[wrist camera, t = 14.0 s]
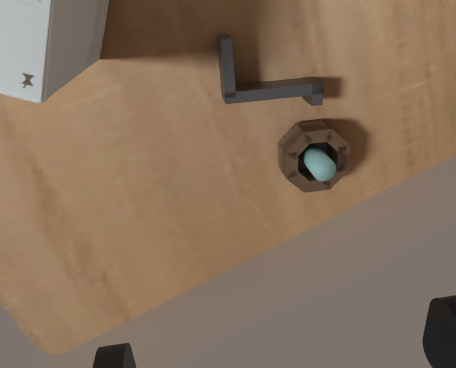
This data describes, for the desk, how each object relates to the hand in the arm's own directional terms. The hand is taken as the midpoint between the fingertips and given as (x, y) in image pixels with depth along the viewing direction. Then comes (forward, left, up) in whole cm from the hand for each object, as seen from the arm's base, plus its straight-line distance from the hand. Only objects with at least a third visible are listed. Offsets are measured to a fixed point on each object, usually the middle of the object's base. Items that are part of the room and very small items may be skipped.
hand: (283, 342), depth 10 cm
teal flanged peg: (+7, +10, -30) cm, 32 cm away
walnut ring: (+7, +10, -30) cm, 32 cm away
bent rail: (-2, +6, -30) cm, 31 cm away
